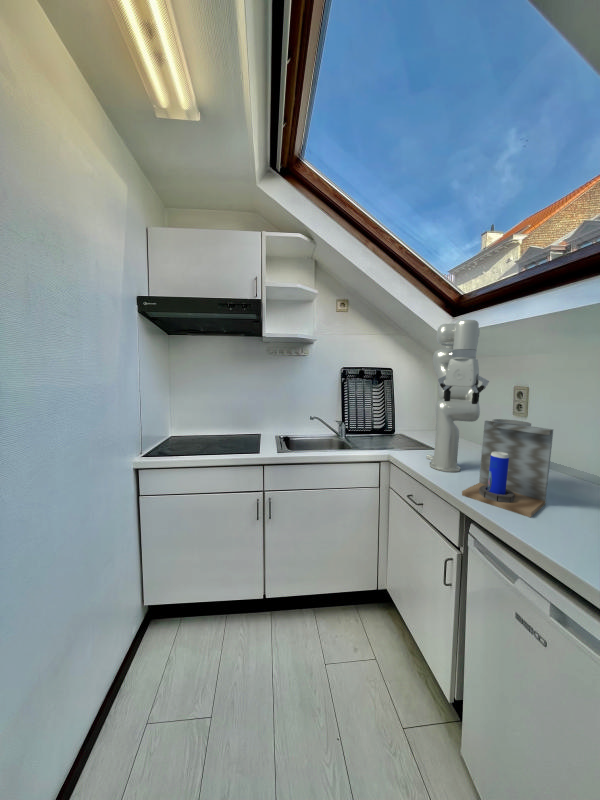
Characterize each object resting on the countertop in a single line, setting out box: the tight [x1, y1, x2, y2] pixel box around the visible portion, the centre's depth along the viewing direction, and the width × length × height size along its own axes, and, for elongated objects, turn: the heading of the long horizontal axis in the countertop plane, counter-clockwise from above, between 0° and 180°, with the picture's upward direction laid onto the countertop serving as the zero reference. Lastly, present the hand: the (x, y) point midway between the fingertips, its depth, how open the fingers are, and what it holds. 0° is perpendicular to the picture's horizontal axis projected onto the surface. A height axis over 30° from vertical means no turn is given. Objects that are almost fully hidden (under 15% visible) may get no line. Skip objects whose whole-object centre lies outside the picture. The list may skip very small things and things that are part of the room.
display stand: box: [461, 420, 554, 518], centre depth 103 cm, size 20×16×26 cm
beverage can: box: [487, 451, 509, 495], centre depth 102 cm, size 5×5×15 cm
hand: (460, 402), depth 110 cm, fingers open, 9 cm apart
